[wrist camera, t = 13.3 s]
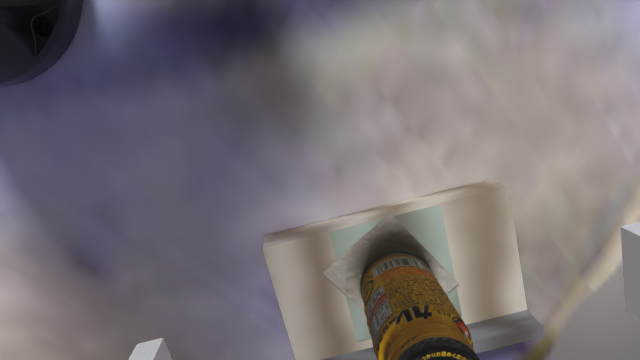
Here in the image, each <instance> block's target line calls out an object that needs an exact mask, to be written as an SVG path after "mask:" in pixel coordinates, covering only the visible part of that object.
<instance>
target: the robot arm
mask: <svg viewBox="0 0 640 360" xmlns="http://www.w3.org/2000/svg"><path fill="white" fill-rule="evenodd" d="M81 9H82V0H0V86H6V85H12V84H17V83H21V82H24V81H27V80H29V79H32V78H34V77H36V76H38V75H40V74H41V73H43V72H44V71H46V70H47V69H48V68H50V67H51V66H52V65H53V64H54V63H55V62H56V61H57V60H58V59H59V58H60V57H61V56H62V55H63V54H64V52H65V51H66V49H67V48H68V46H69V45H70V43H71V41H72V39H73V37H74V35H75V32H76V30H77V27H78V23H79V20H80V15H81ZM621 241H622V259H623V277H624V296H625V312H627V313H628V314H629V315H631V316H632V317H633V318H635V319H636V320H637V321H639V322H640V222H638V223H634V224H630V225H625V226H621ZM128 360H172V358H171V355H170V353H169V350H168V348H167V345H166V343H165V340H164V338H159V339H155V340H151V341H147V342H143V343H139V344H137V345H136V347H135V349H134V350H133V352H132V354H131V356H130V358H129V359H128Z"/></svg>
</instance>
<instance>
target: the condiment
mask: <svg viewBox="0 0 640 360" xmlns="http://www.w3.org/2000/svg"><path fill="white" fill-rule="evenodd" d="M359 271H360V272H359ZM323 274H324V275H325V276H326V277H327V278H328V279H329V280H330V281H331V282H332V283H333V284H334V285H336V286H337V288H338V289H339V290H341V291H342V292H343V293H344V294H345V295H346V296H347V297H348V298H349V299H350V300H351V301H352V302H353V303H355V304H356V305H357V306H358V307H359V308H360V309H361V310H362V311H363V312H364V313H365V316H366V318H367V326H368V328H369V333H370V335H371V339H372V343H373V349H374V353H375V354H376V358H377V360H479V358H478V357H477V355H476V353H475V351H474V349H473V341H472V337H471V333H470V332H469V330H468V328H467V326H466V325H465V323H464V321H463V320H462V318H461V317H460V315H459V313H458V311H457V310H456V309H455V307H454V306H453V304H452V303H451V301H450V299H449V298H448V296H447V293H448V292H449V291H451V290H452V289H453V288H454V287H455V286H457V285H458V284H459V283H458V282H457V281H456V280H455V279H454V278H453V277H452V276H451V275H450V274H449V273H448V272H447V270H446V269H445V268H444V267H443V266H442V265H441V264H440V263H439V262H438V261H437V260H436V259H435V258H434V257H433V256H432V255H431V254H430V253H429V252H428V251H427V250H426V249H425V248H424V247H423V246H422V245H421V244H420V243H419V242H418V241H417V240H416V239H415V238H414V237H413V236H412V235H411V234H410V233H409V232H408V230H407V229H406V228H405V227H404V226H403V225H402V224H401V223H400V222H399V221H398V220H397V219H396V218H395V217H394V216H393V215H392V214H391V213H390V214H388V215H387V216H386V217H385V218H384V219H383V220H381V221H380V222H379V223H378V224H377V225H375V226H374V227H373V228H372V229H371V230H370V231H369V232H368V233H366V234H365V235H364V236H363V237H362V238H361V239H359V240H358V241H357V242H356V243H355V244H354V245H353V246H352V247H350V248H349V249H348V250H347V251H346V252H345V253H344V254H343V255H342V256H341V257H340V258H339V259H337V260H336V261H335V262H334V263H333V264H332V265H331V266H330V267H329V268H328V269H327V270H325V271H324V272H323ZM360 275H361V276H360Z"/></svg>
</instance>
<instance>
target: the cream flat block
mask: <svg viewBox="0 0 640 360" xmlns="http://www.w3.org/2000/svg"><path fill="white" fill-rule="evenodd" d="M390 213H391V214H392V215H393V216H394V217H395V218H396V219H397V220H398V221H399V222H400V223H401V224H402V225H403V226H404V227H405V228H406V229H407V230H408V232H409V233H410V234H411V235H412V236H413V237H414V238H415V239H416V240H417V241H418V242H419V243H420V244H421V245H422V246H423V247H424V248H425V249H426V250H427V251H428V252H429V253H430V254H431V255H432V256H433V257H434V258H435V259H436V260H437V261H438V262H439V263H440V264H441V265H442V266H443V267H444V268H445V269H446V270H447V272H448V273H449V274H450V275H451V276H452V277H453V278H454V279H455V280H456V281H457V282H458V283H459V284H458V285H457V286H455V287H454V288H453V289H452V290H451V291H449V292H448V293H447V296H448V298H449V299H450V301H451V303H452V304H453V306H454V307H455V309H456V310H457V311H458V313H459V315H460V317H461V318H462V320H463V321H464V323H465V325H466V326H467V328H468V330H469V332H470V333H471V337H472V341H473V349H474V351H475V353H476V354H477V353H481V352H485V351H489V350H493V349H498V348H502V347H506V346H510V345H514V344H518V343H523V342H527V341H531V340H535V339H539V338H543V337H544V331H543V326H542V325H541V324H540V323H539V322H538V321H537V320H536V319H535V318H534V317H533V316H532V314H531V313H530V312H529V311H528V310H527V306H526V299H525V293H524V286H523V280H522V273H521V266H520V260H519V253H518V247H517V240H516V233H515V227H514V220H513V214H512V207H511V201H510V194H509V187H507V186H505V185H503V184H502V183H500V182H498V181H496V180H494V179H489V180H485V181H481V182H477V183H473V184H469V185H465V186H461V187H457V188H453V189H449V190H445V191H441V192H437V193H433V194H429V195H425V196H421V197H417V198H413V199H409V200H405V201H400V202H396V203H392V204H388V205H384V206H380V207H376V208H372V209H368V210H364V211H360V212H356V213H352V214H348V215H344V216H340V217H336V218H332V219H328V220H324V221H320V222H316V223H312V224H308V225H304V226H300V227H296V228H292V229H288V230H284V231H280V232H276V233H272V234H268V235H265V238H264V242H263V246H262V251H263V254H264V257H265V261H266V264H267V267H268V271H269V274H270V277H271V281H272V284H273V287H274V290H275V294H276V297H277V300H278V304H279V307H280V310H281V314H282V317H283V320H284V324H285V327H286V330H287V333H288V337H289V340H290V343H291V347H292V350H293V353H294V357H295V360H377V358H376V354H375V353H374V349H373V343H372V339H371V335H370V333H369V328H368V326H367V318H366V316H365V313H364V312H363V311H362V310H361V309H360V308H359V307H358V306H357V305H356V304H355V303H353V302H352V301H351V300H350V299H349V298H348V297H347V296H346V295H345V294H344V293H343V292H342V291H341V290H339V289H338V288H337V286H336V285H334V284H333V283H332V282H331V281H330V280H329V279H328V278H327V277H326V276H325V275H324V274H323V272H324V271H325V270H327V269H328V268H329V267H330V266H331V265H332V264H333V263H334V262H335V261H336V260H337V259H339V258H340V257H341V256H342V255H343V254H344V253H345V252H346V251H347V250H348V249H349V248H350V247H352V246H353V245H354V244H355V243H356V242H357V241H358V240H359V239H361V238H362V237H363V236H364V235H365V234H366V233H368V232H369V231H370V230H371V229H372V228H373V227H374V226H375V225H377V224H378V223H379V222H380V221H381V220H383V219H384V218H385V217H386V216H387V215H388V214H390ZM359 272H360V271H359ZM360 276H361V275H360Z"/></svg>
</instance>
